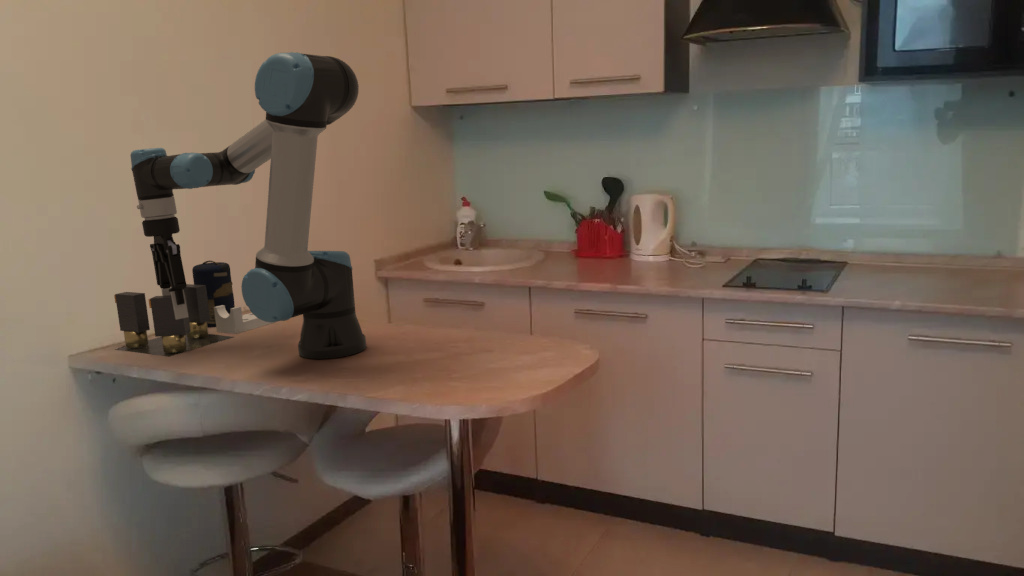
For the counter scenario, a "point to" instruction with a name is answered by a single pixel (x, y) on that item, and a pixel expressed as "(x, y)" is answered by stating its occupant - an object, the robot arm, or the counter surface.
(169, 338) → the dark grey block
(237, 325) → the bracket
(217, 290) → the canister
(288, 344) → the counter surface
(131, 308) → the brass knob with block
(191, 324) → the knob right
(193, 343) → the level plate
